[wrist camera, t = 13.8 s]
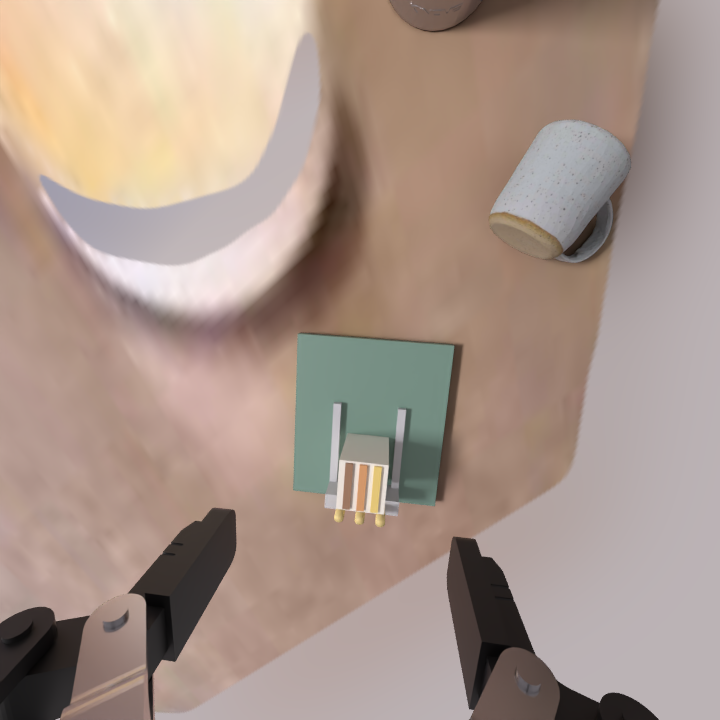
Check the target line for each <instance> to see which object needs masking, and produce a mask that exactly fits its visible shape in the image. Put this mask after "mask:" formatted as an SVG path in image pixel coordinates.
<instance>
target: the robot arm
mask: <svg viewBox="0 0 720 720" xmlns="http://www.w3.org/2000/svg"><path fill="white" fill-rule="evenodd" d="M481 1H482V0H390V2H391V4H392V6H393V8H394V10H395V11H396V12H397V13H398V14H399V16H400V17H401V18H402V19H403V20H405V21H406V22H407V23H409V24H410V25H412V26H414V27H417V28H419V29H422V30H429V31H436V30H444V29H447V28H450V27H453V26H455V25H457V24H458V23H460V22H462V21H463V20H465V19H466V18H467V17H468V16H469V15H470V14H471V13H472V12H474V11H475V9H476V8H477V7H478V5H479V4H480V3H481ZM235 551H236V515H235V511H234V510H230V509H222V508H212V509H211V510H210V512H209V513H208V514H207V515H206V517H205V518H204V519H203V520H202V522H201V521H195V522H193V523H192V524H190V525H189V526H187V527H186V528H184V529H183V530H181V532H180V533H179V534H178V535H177V536H176V537H175V539H174V540H173V541H172V542H171V545H169V546H168V547H167V548H166V549H165V550H164V551H163V554H162V555H160V556H159V557H158V559H157V560H156V561H155V562H154V563H153V564H152V566H151V567H150V568H149V569H148V570H147V571H146V573H145V574H144V575H143V576H142V577H141V578H140V580H139V581H138V582H137V583H136V584H135V586H134V587H133V588H132V589H131V590H130V591H129V593H128V594H123V595H120V596H117V597H114V598H112V599H110V600H108V601H107V602H105V603H104V604H102V605H101V606H100V607H98V608H97V609H96V610H95V611H94V612H93V613H92V614H91V615H90V616H85V617H79V618H73V619H67V620H62V621H55V615H54V612H53V611H52V610H51V609H50V608H47V607H35V608H31V609H27V610H24V611H22V612H19V613H17V614H15V615H13V616H11V617H9V618H8V619H6V620H5V621H3V622H2V623H0V720H55V719H58V718H60V720H155V709H154V675H153V673H154V671H155V670H156V668H157V666H158V665H159V663H160V662H161V660H168V661H174V662H175V661H176V660H177V658H178V656H179V654H180V653H181V651H182V649H183V647H184V646H185V644H186V642H187V640H188V639H189V637H190V635H191V633H192V632H193V630H194V628H195V626H196V625H197V623H198V621H199V619H200V618H201V616H202V614H203V612H204V611H205V609H206V607H207V605H208V604H209V602H210V600H211V598H212V597H213V595H214V593H215V591H216V590H217V588H218V586H219V584H220V583H221V581H222V579H223V577H224V576H225V574H226V572H227V570H228V569H229V567H230V565H231V563H232V561H233V558H234V555H235ZM447 590H448V596H449V602H450V607H451V613H452V618H453V623H454V629H455V634H456V640H457V645H458V651H459V657H460V662H461V667H462V673H463V678H464V683H465V689H466V695H467V700H468V706H469V709H472V710H474V711H473V714H472V716H471V718H470V719H469V720H659V719H658V718H657V717H656V716H655V715H654V714H653V713H652V712H651V711H649V710H648V709H647V708H646V707H645V706H643V705H642V704H640V703H639V702H637V701H636V700H634V699H632V698H630V697H628V696H626V695H623V694H620V693H608V694H606V695H604V696H603V697H602V699H601V701H600V703H598V702H596V701H594V700H592V699H590V698H588V697H586V696H584V695H581V694H580V693H577V692H575V691H573V690H571V689H569V688H567V687H566V686H564V685H563V684H561V683H560V682H558V681H557V680H556V679H555V677H554V675H553V673H552V672H551V670H550V669H549V668H548V667H547V665H546V664H545V663H544V662H543V661H542V660H541V659H540V658H538V657H537V656H536V655H535V652H534V650H533V648H532V645H531V642H530V640H529V638H528V635H527V632H526V630H525V627H524V624H523V622H522V619H521V617H520V614H519V612H518V609H517V607H516V604H515V602H514V600H513V596H512V594H511V591H510V589H509V586H508V583H507V581H506V578H505V576H504V573H503V571H502V570H501V568H500V567H499V566H498V565H497V564H496V562H495V561H494V560H493V559H492V558H490V557H482V556H481V554H480V551H479V548H478V545H477V542H476V540H475V539H470V538H461V537H453V538H452V543H451V550H450V557H449V564H448V570H447Z"/></svg>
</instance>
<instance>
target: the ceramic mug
mask: <svg viewBox="0 0 720 720" xmlns="http://www.w3.org/2000/svg"><path fill="white" fill-rule="evenodd" d="M630 168H631V160H630V155H629V153H628V151H627V150H626V148H625V146H624V145H623V144H622V143H621V142H620V141H619V140H618V139H617V138H616V137H615V136H613V135H612V134H611V133H609V132H608V131H606V130H604V129H602V128H600V127H598V126H596V125H594V124H591V123H587V122H584V121H579V120H559V121H555V122H552V123H550V124H548V125H546V126H545V127H544V128H543V129H542V130H541V131H540V132H539V133H538V135H537V136H536V138H535V139H534V141H533V143H532V144H531V146H530V148H529V149H528V151H527V152H526V154H525V155H524V157H523V159H522V160H521V162H520V163H519V165H518V166H517V168H516V170H515V171H514V173H513V175H512V177H511V178H510V180H509V181H508V183H507V184H506V186H505V187H504V189H503V191H502V192H501V194H500V195H499V197H498V198H497V200H496V202H495V204H494V206H493V208H492V211H491V213H490V216H489V224H490V228H491V230H492V231H493V232H494V234H495V235H496V236H497V237H499V238H500V239H501V240H502V241H504V242H505V243H507V244H508V245H510V246H511V247H513V248H515V249H517V250H519V251H520V252H523V253H525V254H527V255H530V256H533V257H536V258H540V259H552V258H555V259H557V260H560V261H565V262H570V263H577V262H581V261H583V260H586V259H588V258H589V257H590V256H592V255H593V254H594V253H595V252H596V251H597V250H598V249H599V248H600V247H601V246H602V245H603V243H604V242H605V240H606V238H607V237H608V235H609V232H610V230H611V227H612V222H613V208H612V203H611V201H610V198H609V197H610V196H611V195H612V194H613V192H614V191H615V190H616V189H617V188H618V187H619V185H620V184H621V183H622V182H623V180H624V179H625V178H626V176H627V174H628V172H629V170H630ZM596 213H597V219H596V226H595V229H594V230H593V233H592V234H591V236H590V237H589V238H588V239H587V241H586V242H585V243H584V244H583V245H582V246H581V247H580V248H579V249H577V251H576V252H575V253H574V254H573V255H571V256H566V255H564V254H563V252H564V251H565V250H566V249H567V248H568V247H570V246H571V245H572V244H573V243H574V241H575V240H576V239H577V238H578V237H579V235H580V234H581V233H582V231H583V230H584V228H585V227H586V226H587V224H588V223H589V222H590V221H591V219H592V218H593V217H594V216H595V215H596Z"/></svg>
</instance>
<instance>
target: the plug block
mask: <svg viewBox="0 0 720 720" xmlns="http://www.w3.org/2000/svg"><path fill="white" fill-rule="evenodd" d="M388 468H389V437H380V436H371V435H361V434H352V433H347V436H346V440H345V443H344V446H343V449H342V453H341V456H340V459H339V472H338V487H337V502H336V509H342V510H350V511H358V512H367V513H375V514H383V515H384V509H385V499H386V489H387V478H388Z"/></svg>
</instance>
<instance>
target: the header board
mask: <svg viewBox="0 0 720 720" xmlns="http://www.w3.org/2000/svg"><path fill="white" fill-rule="evenodd" d="M453 353H454V345H453V344H441V343H428V342H415V341H402V340H389V339H376V338H363V337H350V336H336V335H323V334H310V333H299V334H298V345H297V380H296V415H295V449H294V484H293V490H295V491H304V492H313V493H322V494H325V508H331V509H336V502H337V487H338V472H339V459H340V456H341V453H342V449H343V446H344V443H345V440H346V436H347V433H352V434H361V435H371V436H380V437H389V468H388V478H387V489H386V499H385V509H384V515H383V514H376V522H375V523H376V525H377V526H378V527H383V526H384V525H385V515H392V516H398V508H399V502H402V503H411V504H420V505H429V506H435V500H436V492H437V484H438V476H439V467H440V459H441V451H442V443H443V435H444V427H445V418H446V410H447V402H448V394H449V386H450V378H451V369H452V361H453ZM349 511H350V510H349ZM344 513H345V510H342V509H336V512H335V516H334V519H335V521H336V522H342V521H343V518H344ZM366 513H367V512H366ZM364 517H365V512H358V511H356V515H355V523H356V524H359V525H361V524H363V523H364Z"/></svg>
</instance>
